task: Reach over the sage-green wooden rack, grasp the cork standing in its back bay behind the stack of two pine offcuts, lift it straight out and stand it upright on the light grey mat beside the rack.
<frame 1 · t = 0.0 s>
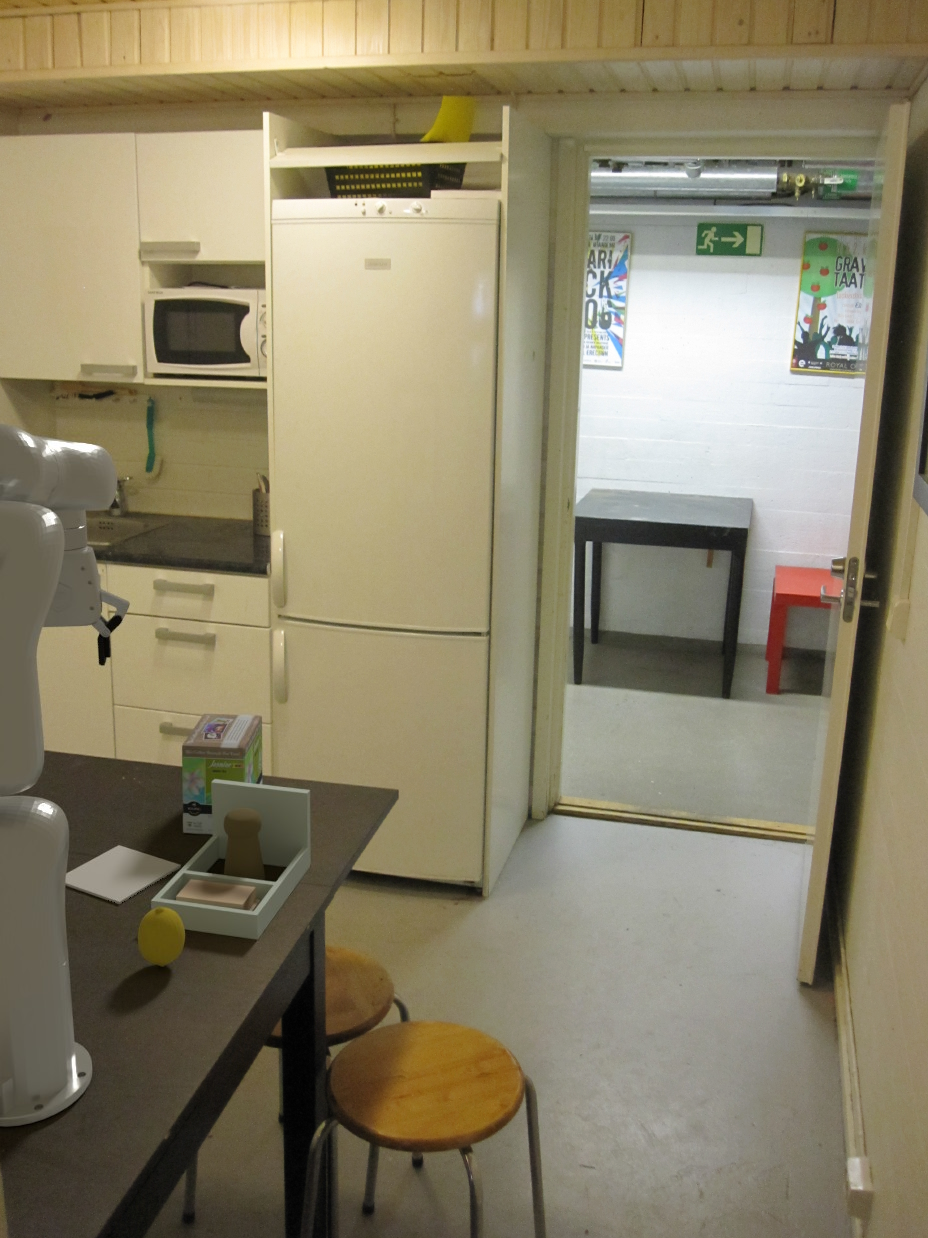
hand: (65, 664, 144), 31 cm above the table, tool pointing down, fingers open, 9 cm apart
mat: (119, 874, 153), on the table
lemon: (162, 967, 131), on the table
cork: (244, 884, 151), on the table
offcut upper: (216, 905, 142), point 2 cm above the table, touching offcut lower
tea box: (224, 816, 172), on the table
rack: (244, 883, 151), on the table
offcut lower: (218, 919, 143), on the table, touching offcut upper
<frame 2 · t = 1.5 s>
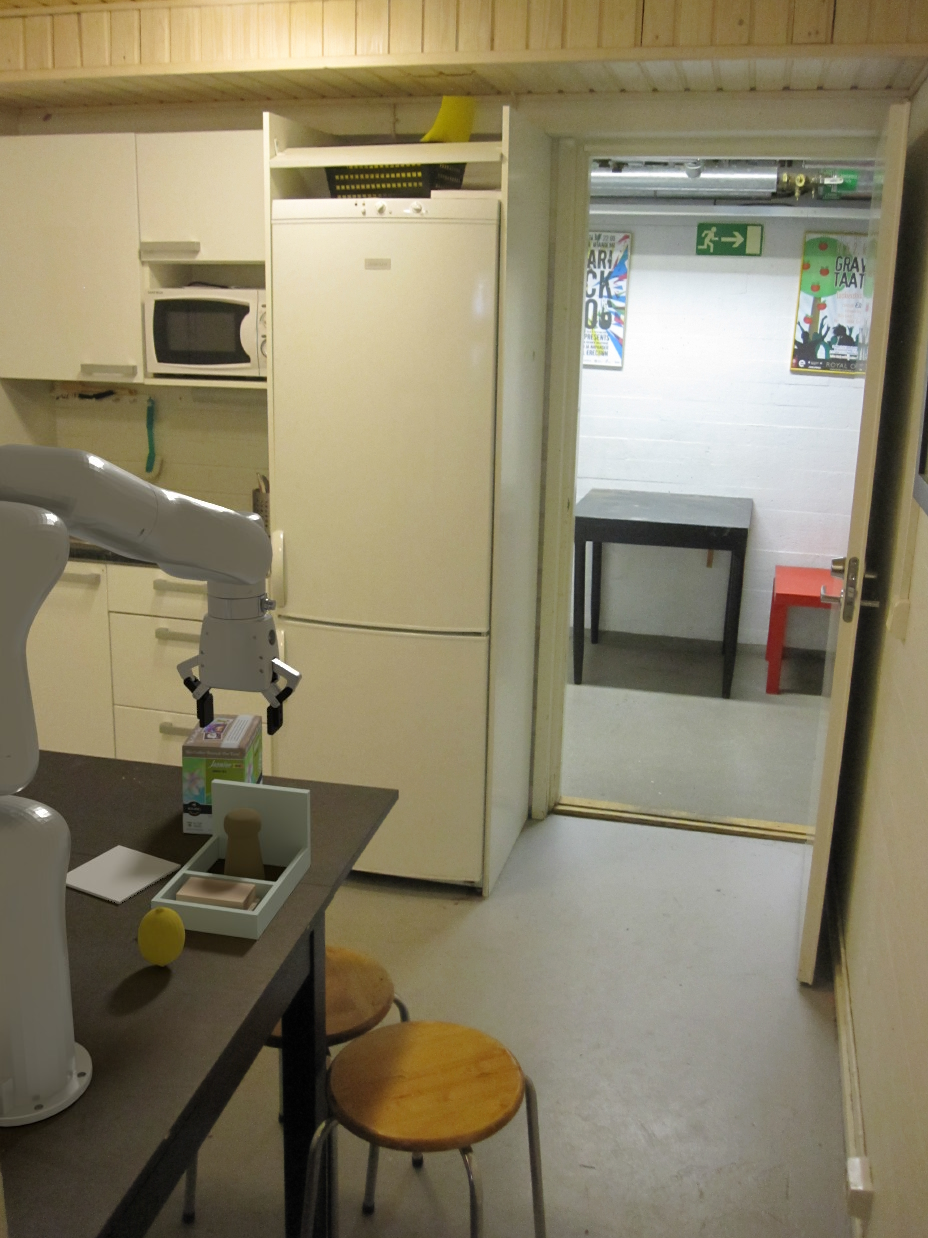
hand: (240, 728, 145), 23 cm above the table, tool pointing down, fingers open, 9 cm apart
nothing on the table moved.
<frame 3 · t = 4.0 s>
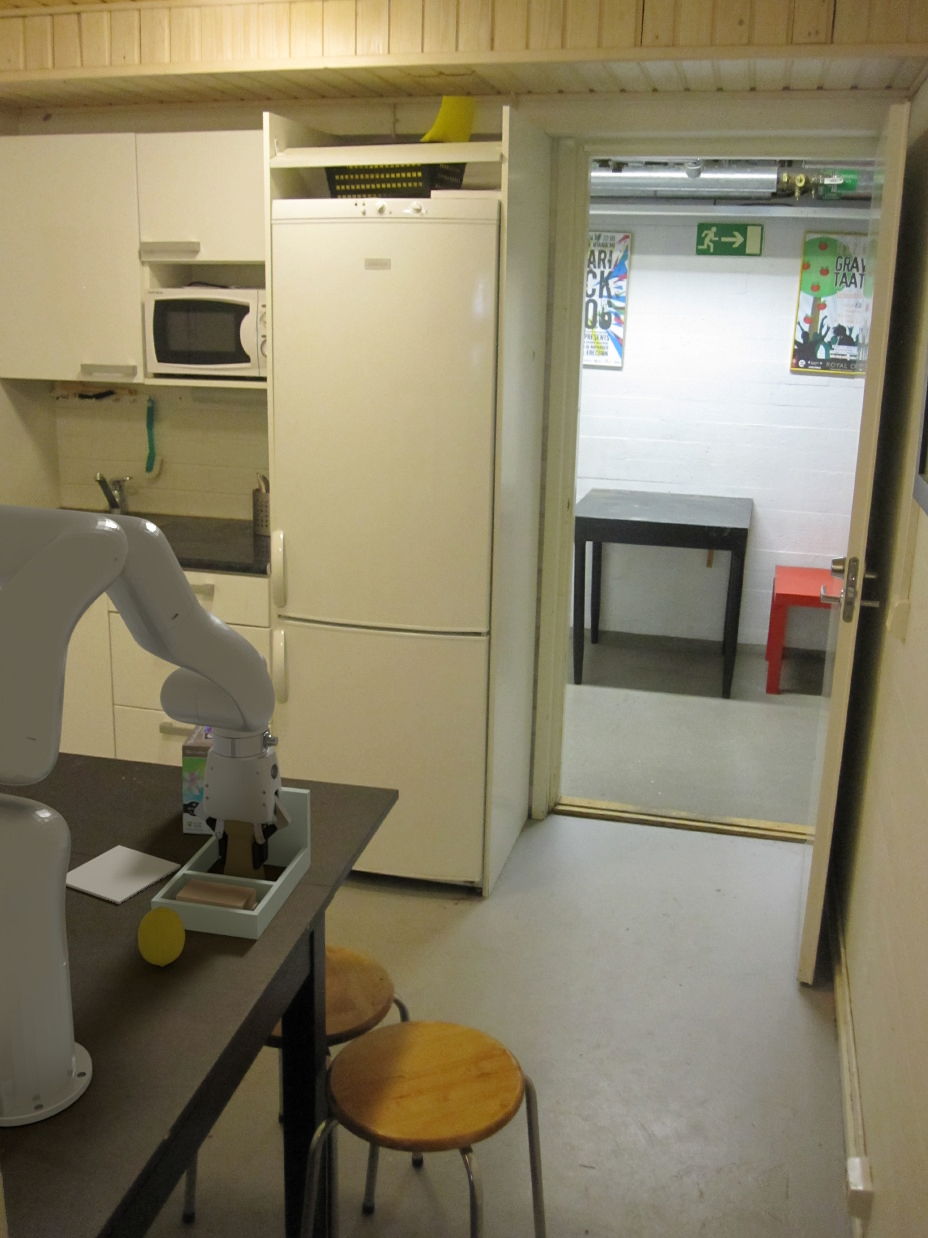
hand: (243, 862, 150), 3 cm above the table, tool pointing down, fingers closed on cork, 4 cm apart
cork: (244, 884, 151), on the table, touching gripper
everything else where it was.
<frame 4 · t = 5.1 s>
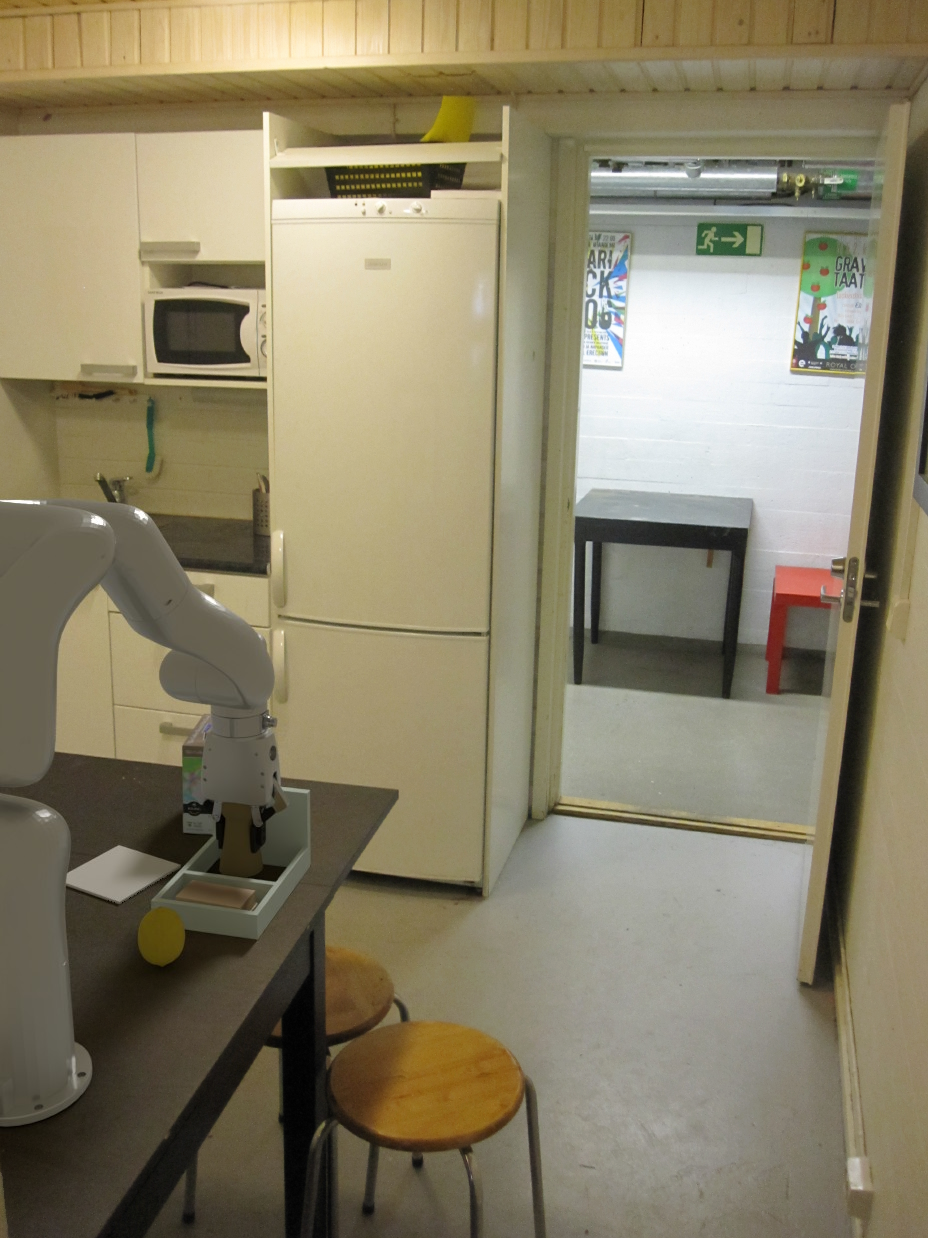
hand: (241, 845, 149), 6 cm above the table, tool pointing down, fingers closed on cork, 4 cm apart
cork: (241, 869, 150), point 3 cm above the table, touching gripper
offcut upper: (216, 907, 142), point 2 cm above the table
offcut lower: (216, 922, 142), on the table
everything else where it was.
when the fingers open (5 cm above the table, at t = 10.8 s): cork stays where it is, resting on mat.
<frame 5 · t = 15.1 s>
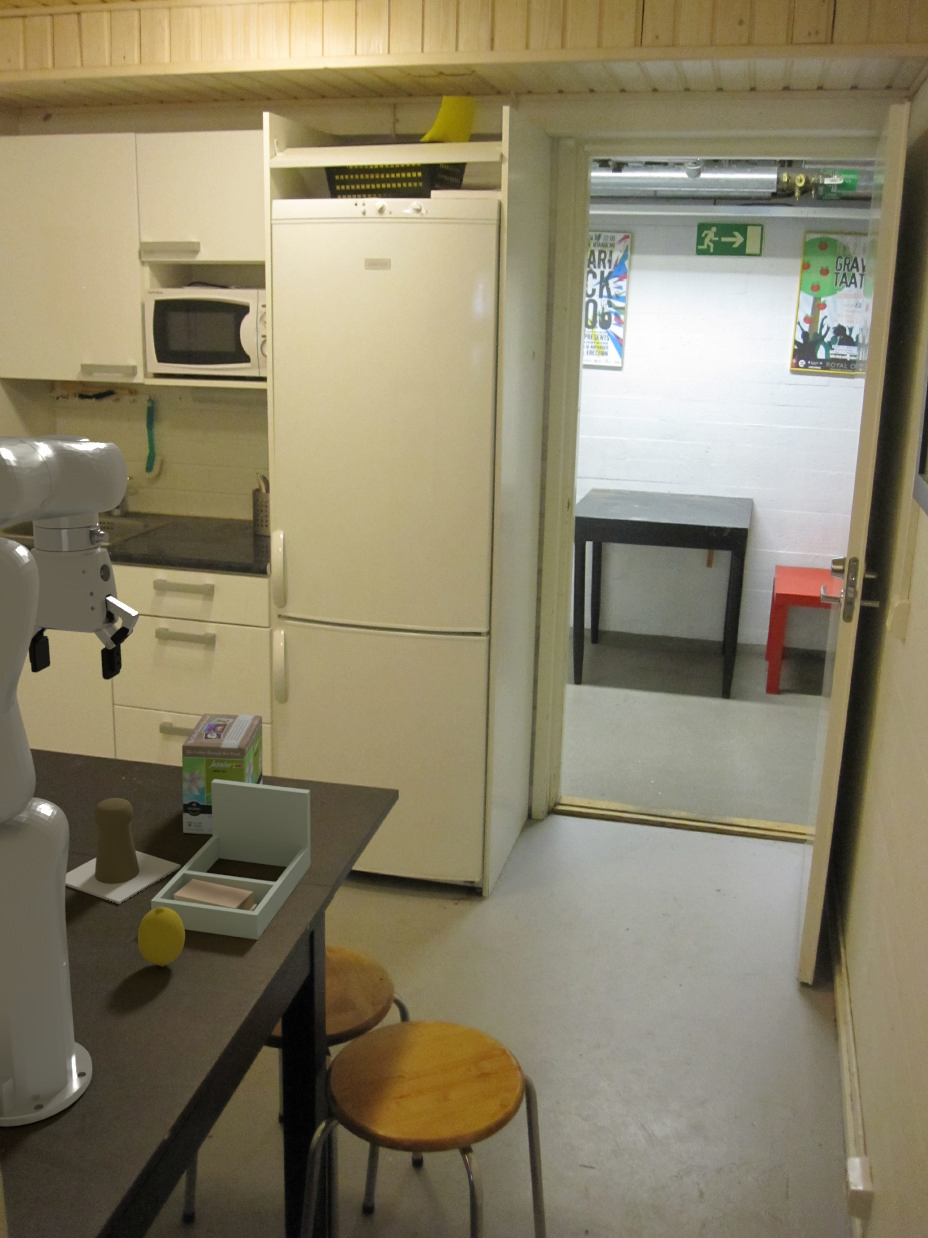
hand: (76, 672, 134), 33 cm above the table, tool pointing down, fingers open, 9 cm apart
cork: (117, 874, 152), resting on mat
offcut upper: (213, 907, 142), point 2 cm above the table, touching offcut lower
offcut lower: (214, 923, 142), on the table, touching offcut upper
everything else where it was.
at the end: cork inside the target area on the mat (0.4 cm from its centre), point 0.2 cm above the mat's base; cork tilted 0°; offcut upper moved 0.9 cm from its start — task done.
